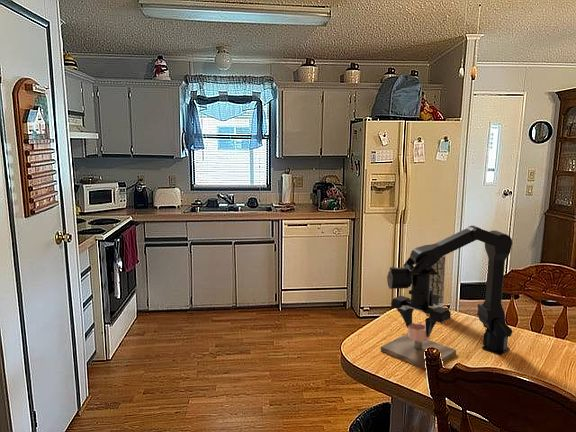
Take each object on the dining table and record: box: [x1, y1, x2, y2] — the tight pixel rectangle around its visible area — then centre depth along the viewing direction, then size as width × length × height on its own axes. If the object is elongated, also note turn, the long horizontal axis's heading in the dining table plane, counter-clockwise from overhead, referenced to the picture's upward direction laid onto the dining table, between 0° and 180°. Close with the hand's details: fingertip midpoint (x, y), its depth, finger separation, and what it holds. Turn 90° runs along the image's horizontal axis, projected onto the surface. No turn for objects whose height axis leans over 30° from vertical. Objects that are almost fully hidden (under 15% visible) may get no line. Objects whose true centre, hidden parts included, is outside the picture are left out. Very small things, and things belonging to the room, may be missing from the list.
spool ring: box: [407, 322, 431, 341], centre depth 145 cm, size 6×6×4 cm
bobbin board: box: [380, 332, 457, 371], centre depth 146 cm, size 18×16×6 cm
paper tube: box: [425, 254, 447, 317], centre depth 176 cm, size 7×7×25 cm
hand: (418, 333), depth 145 cm, fingers closed on spool ring, 6 cm apart
